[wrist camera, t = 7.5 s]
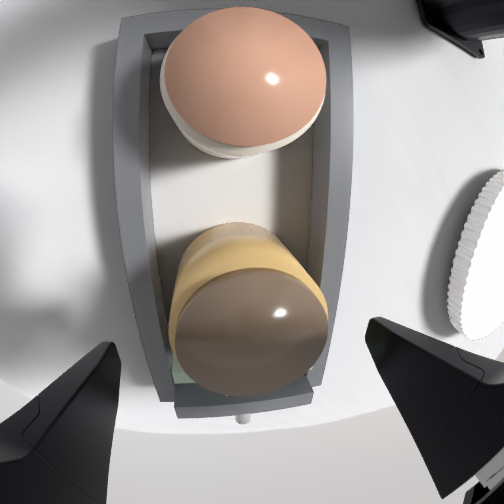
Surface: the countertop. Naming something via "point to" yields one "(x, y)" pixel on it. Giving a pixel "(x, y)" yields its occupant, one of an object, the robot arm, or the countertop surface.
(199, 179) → the countertop surface
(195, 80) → the cream jar
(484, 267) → the plastic lid
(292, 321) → the amber jar
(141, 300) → the lane
